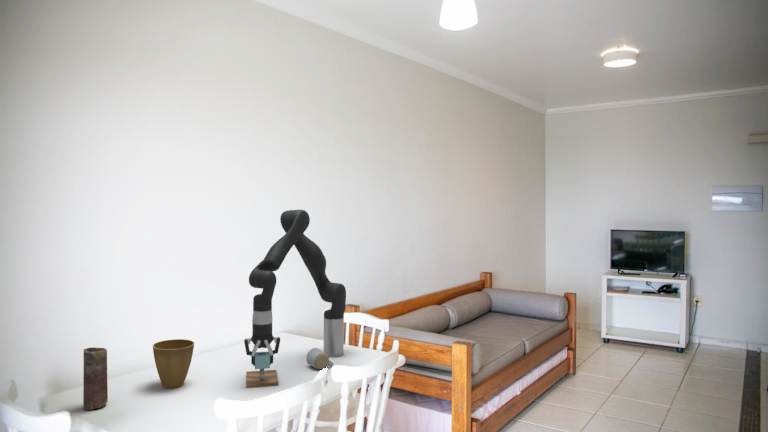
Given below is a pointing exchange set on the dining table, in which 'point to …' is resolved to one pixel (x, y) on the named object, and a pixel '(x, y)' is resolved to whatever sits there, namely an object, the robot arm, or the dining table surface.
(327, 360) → the ceramic mug
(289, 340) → the dining table surface
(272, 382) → the pin board
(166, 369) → the plant pot
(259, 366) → the collar block
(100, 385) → the candle
